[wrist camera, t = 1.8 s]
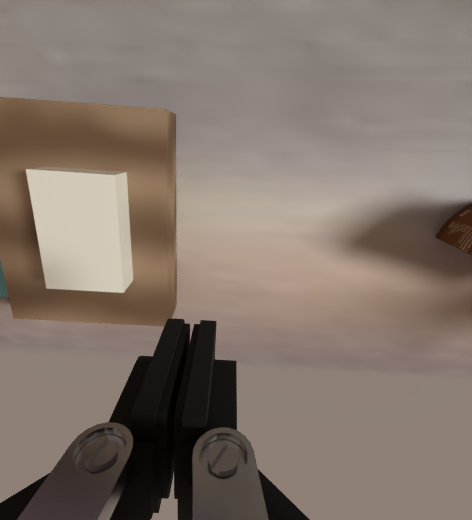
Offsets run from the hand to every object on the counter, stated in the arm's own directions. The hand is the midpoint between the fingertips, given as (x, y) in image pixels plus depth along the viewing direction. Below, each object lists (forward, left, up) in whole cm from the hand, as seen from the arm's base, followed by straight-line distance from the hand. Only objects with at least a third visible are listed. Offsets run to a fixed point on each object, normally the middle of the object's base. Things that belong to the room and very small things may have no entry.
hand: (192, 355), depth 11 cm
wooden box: (0, -11, -19) cm, 22 cm away
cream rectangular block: (0, -10, -14) cm, 17 cm away
